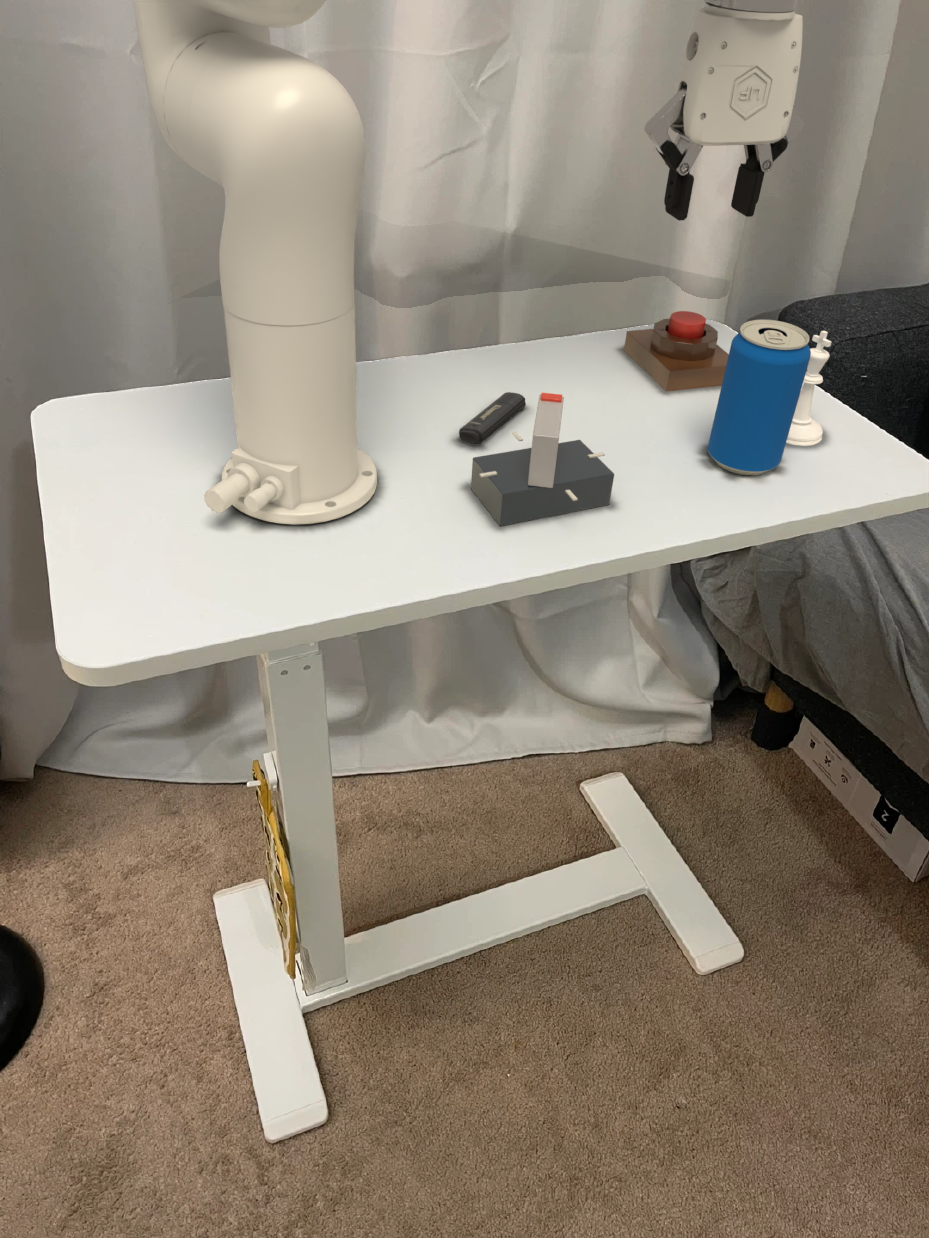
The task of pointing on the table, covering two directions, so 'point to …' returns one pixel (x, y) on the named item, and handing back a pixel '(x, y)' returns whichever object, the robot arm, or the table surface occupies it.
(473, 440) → the usb stick
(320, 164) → the robot arm
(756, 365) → the beverage can
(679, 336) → the button
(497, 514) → the dark grey marked platform
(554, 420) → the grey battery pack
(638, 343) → the button block
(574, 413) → the table surface
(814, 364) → the chess piece
